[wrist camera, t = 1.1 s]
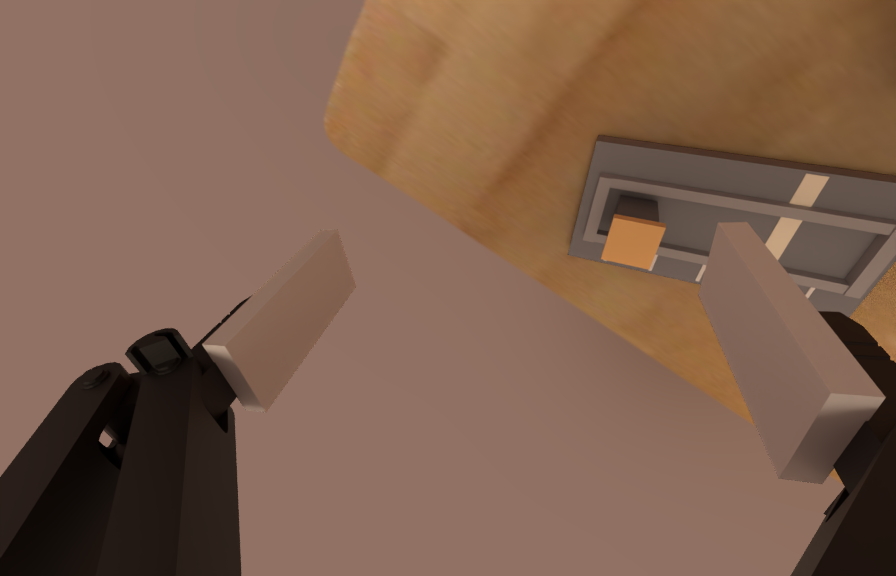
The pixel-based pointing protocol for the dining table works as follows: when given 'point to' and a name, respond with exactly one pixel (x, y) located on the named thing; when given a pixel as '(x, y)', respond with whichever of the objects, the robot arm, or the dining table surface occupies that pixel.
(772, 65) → the dining table surface
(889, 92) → the dining table surface
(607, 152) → the console board
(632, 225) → the fader tab
